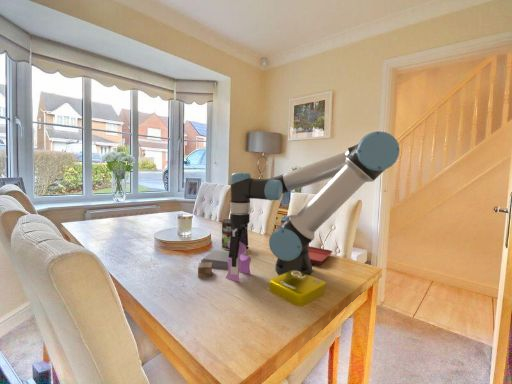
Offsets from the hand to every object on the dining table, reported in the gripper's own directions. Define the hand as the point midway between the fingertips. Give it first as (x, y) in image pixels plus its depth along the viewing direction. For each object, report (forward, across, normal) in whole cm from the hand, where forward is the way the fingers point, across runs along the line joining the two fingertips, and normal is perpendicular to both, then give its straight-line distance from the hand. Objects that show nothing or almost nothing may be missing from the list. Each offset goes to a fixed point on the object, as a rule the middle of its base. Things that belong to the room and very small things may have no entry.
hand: (238, 269), depth 105 cm
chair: (+3, 0, 0) cm, 3 cm away
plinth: (+3, -11, -12) cm, 16 cm away
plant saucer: (+3, -30, +25) cm, 39 cm away
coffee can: (+3, -32, -15) cm, 35 cm away
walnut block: (+3, +3, -13) cm, 14 cm away
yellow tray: (+3, +6, +24) cm, 25 cm away
